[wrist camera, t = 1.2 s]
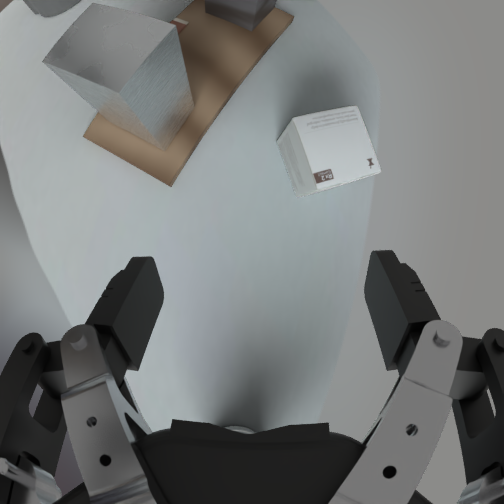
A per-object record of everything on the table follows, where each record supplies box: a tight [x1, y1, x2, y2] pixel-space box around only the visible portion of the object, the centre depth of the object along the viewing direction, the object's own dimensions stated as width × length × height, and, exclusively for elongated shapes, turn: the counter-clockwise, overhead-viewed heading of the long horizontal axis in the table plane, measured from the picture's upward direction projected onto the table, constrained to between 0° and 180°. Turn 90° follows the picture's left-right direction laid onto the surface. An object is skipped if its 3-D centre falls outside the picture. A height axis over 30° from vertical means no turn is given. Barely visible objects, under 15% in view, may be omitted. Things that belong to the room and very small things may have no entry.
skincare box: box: [277, 105, 382, 198], centre depth 24 cm, size 6×6×7 cm
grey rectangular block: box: [42, 3, 195, 151], centre depth 18 cm, size 5×9×13 cm, turn 59°
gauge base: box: [83, 0, 294, 187], centre depth 22 cm, size 24×11×7 cm, turn 149°
